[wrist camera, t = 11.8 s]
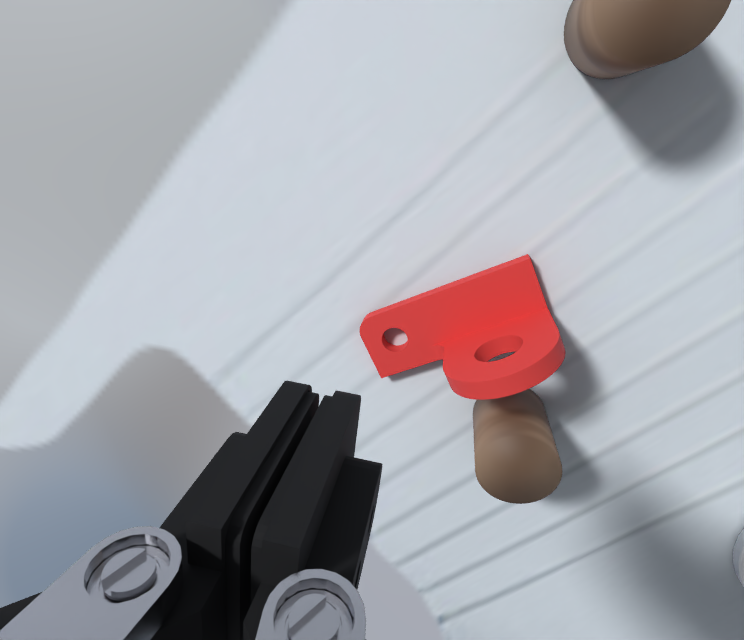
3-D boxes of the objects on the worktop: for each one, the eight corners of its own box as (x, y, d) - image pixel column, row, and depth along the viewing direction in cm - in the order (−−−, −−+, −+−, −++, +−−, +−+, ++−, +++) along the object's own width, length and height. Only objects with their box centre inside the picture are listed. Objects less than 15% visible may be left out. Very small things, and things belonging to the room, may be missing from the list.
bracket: (527, 253, 29) (550, 295, 21) (549, 316, 30) (578, 376, 23) (357, 316, 32) (328, 370, 25) (383, 370, 34) (362, 436, 26)
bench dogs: (687, -33, 22) (761, -86, 17) (535, 449, 34) (549, 511, 28) (579, -40, 23) (617, -94, 17) (466, 435, 34) (467, 493, 29)
